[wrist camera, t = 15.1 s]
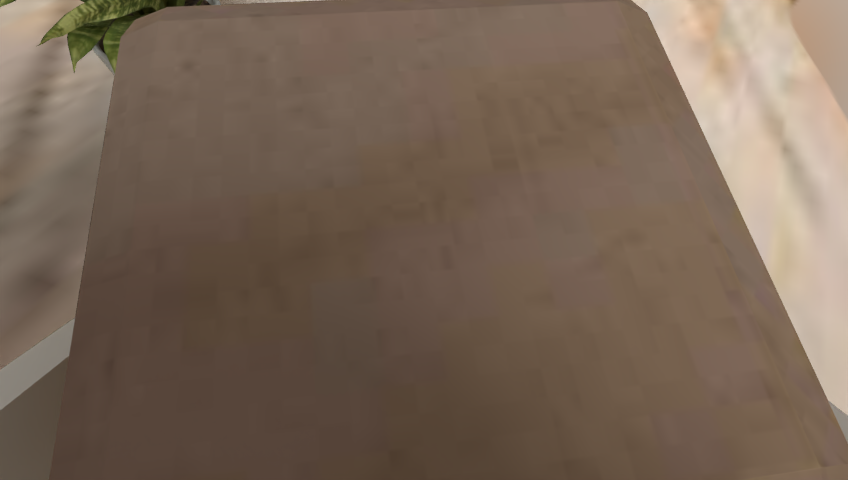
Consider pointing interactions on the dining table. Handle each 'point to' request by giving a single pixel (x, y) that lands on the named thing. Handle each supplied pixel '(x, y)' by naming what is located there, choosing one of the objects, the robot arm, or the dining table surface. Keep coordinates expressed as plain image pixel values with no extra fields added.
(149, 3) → the house plant
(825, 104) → the dining table surface
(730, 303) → the wooden block
